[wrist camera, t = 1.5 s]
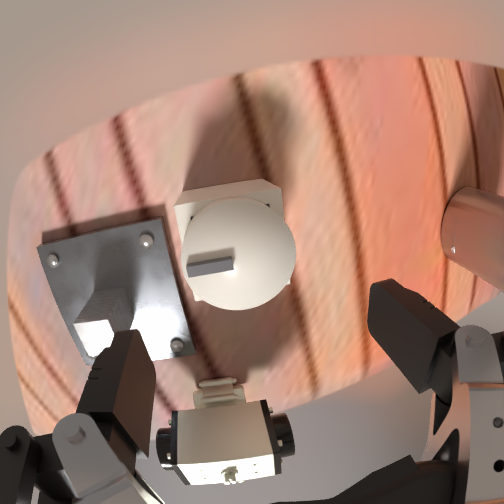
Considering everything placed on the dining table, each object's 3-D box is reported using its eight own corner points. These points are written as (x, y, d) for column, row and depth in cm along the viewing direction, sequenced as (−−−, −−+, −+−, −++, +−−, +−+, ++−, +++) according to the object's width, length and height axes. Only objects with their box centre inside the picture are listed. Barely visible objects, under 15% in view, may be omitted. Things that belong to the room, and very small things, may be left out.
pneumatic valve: (160, 378, 27) (152, 475, 16) (270, 364, 29) (302, 458, 17) (174, 409, 29) (173, 497, 18) (273, 396, 30) (299, 482, 19)
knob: (261, 178, 22) (293, 194, 14) (270, 252, 24) (301, 302, 16) (182, 191, 21) (168, 215, 13) (196, 265, 24) (194, 323, 16)
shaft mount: (162, 215, 22) (148, 238, 16) (196, 347, 26) (196, 392, 21) (41, 243, 20) (6, 269, 15) (89, 359, 25) (73, 399, 20)
